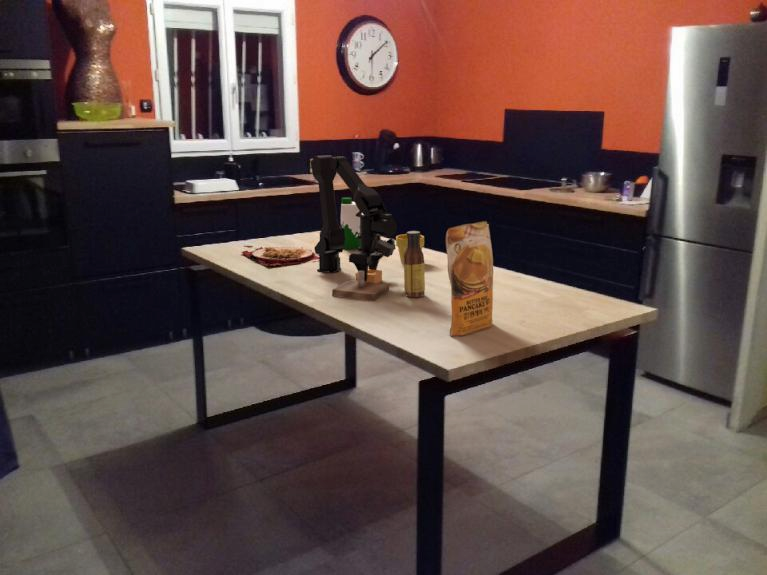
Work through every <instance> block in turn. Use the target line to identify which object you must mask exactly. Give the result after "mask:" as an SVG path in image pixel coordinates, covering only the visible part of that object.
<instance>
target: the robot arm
mask: <svg viewBox="0 0 767 575" xmlns="http://www.w3.org/2000/svg"><path fill="white" fill-rule="evenodd" d="M310 168H311V172H312V176H313V177H314V179H315V180H316V182H317V183H318V191H319V197H320V198H319V201H320V209H321V218H322V227H321V230H320V232H319V240H318V242H316V245H315V246H314V247H313V248H314V253H315V254H316V255H317V256H318V255H319V256H318V257H319V259H318V266H319V268H318V269H316V271H317V272H322V273H323V272H324V273H332V274H333V273H336V272H337V271H339V270H341V269H342V267H341V257H340V253H344V252H343V250H344V249H343V247H344V245H345V240H346V238H345V230H344V228H341V225H339V223H338V215H337V214H338V213H337V206H336V198H335V197H336V195H335V187H334V180H335V177H336V175H337V174H338V176H339V177H340V179H341V180H342V181H343V182H344V184H345V185H346V186H347V188H348V189H349V190H350V191H351V192H350V193H352V195H353V202H355V204H356V206H357V208H358V209H359V210H360V211H359V212H358V213H357V214H356V217H360V235H358V239H360V247H359V248H358V250H357V251H356V250H355V251H354V252H352V253H350V255H348V263H352V264H353V265H354V267H355V268H356V270H357V272H358V271H364V281H366V280H367V274H368V269H372V270H378V266H379V262H380V260H381V259H382V258H384V257H385V258H389V257H390V256H392V255H393V253H394V250H396V249H397V248H396V247H397V246H396V240H395V239H393V238H389V239H387V240H386V239H385V240H384V239H381V236H385V237H392V236H394V235H395V234H396V231H397V229H398V224H397V222H396V220H395V219H394V218H393V214H392V213H388V210H387V208H386V206H385V205H384V203H383V200H382V198H381V195H380V193H379V192H377V191H376V190H375V189H374V188H372V187H370V186H368V185H367V184H366V183H365V182H364V180H362V179H361V177H360V175H359V174H358V173H357V171H355V169H354V168H353V167H352V165H351V164H350V163H349V159H348V157H345V156H333V155H330V154H329V155H316V156H314V157H313V158H312V160H311V161H310Z"/></svg>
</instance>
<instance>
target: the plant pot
mask: <svg viewBox="0 0 767 575" xmlns="http://www.w3.org/2000/svg"><path fill="white" fill-rule="evenodd" d="M407 244H408V238H407V233H405V234H399V235H396V237H395V245H396V246H395V247H397V249H398V254H399V258H400V263H401V264H403V265H404V253H405V251H406V249H407ZM423 247H425V236H424V235H422V234H420V248H421V250H422V249H423ZM422 251H423V250H422Z"/></svg>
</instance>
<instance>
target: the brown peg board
mask: <svg viewBox="0 0 767 575" xmlns="http://www.w3.org/2000/svg"><path fill="white" fill-rule="evenodd" d="M357 272H358V281H356V280H351V279H350V280H347V281H345V282H343V283H341V284H339V285H337V286H336V287H334V288H332V290H331V291H332V294H331V296H333V297H339V296H340V297H341V298H347V297H348V299H354V300H355V299H356V300H357V299H358V300H366V301H373V302H374V301H377V300H378V299H380V298H381V297H382V296H384V295H385V294H386V293H388V292H390V284H388V283H387V284H386V283H380V282H379V283H370V282H364V271H358V270H357Z"/></svg>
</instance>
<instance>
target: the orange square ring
mask: <svg viewBox="0 0 767 575" xmlns="http://www.w3.org/2000/svg"><path fill="white" fill-rule="evenodd" d="M355 281H358V271H357V272H355ZM382 281H383V270H380V269H377V270H372V269H369V268H368V274H367V280H366V281H364V282H370V283H379V284H380V283H381V282H382Z"/></svg>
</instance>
